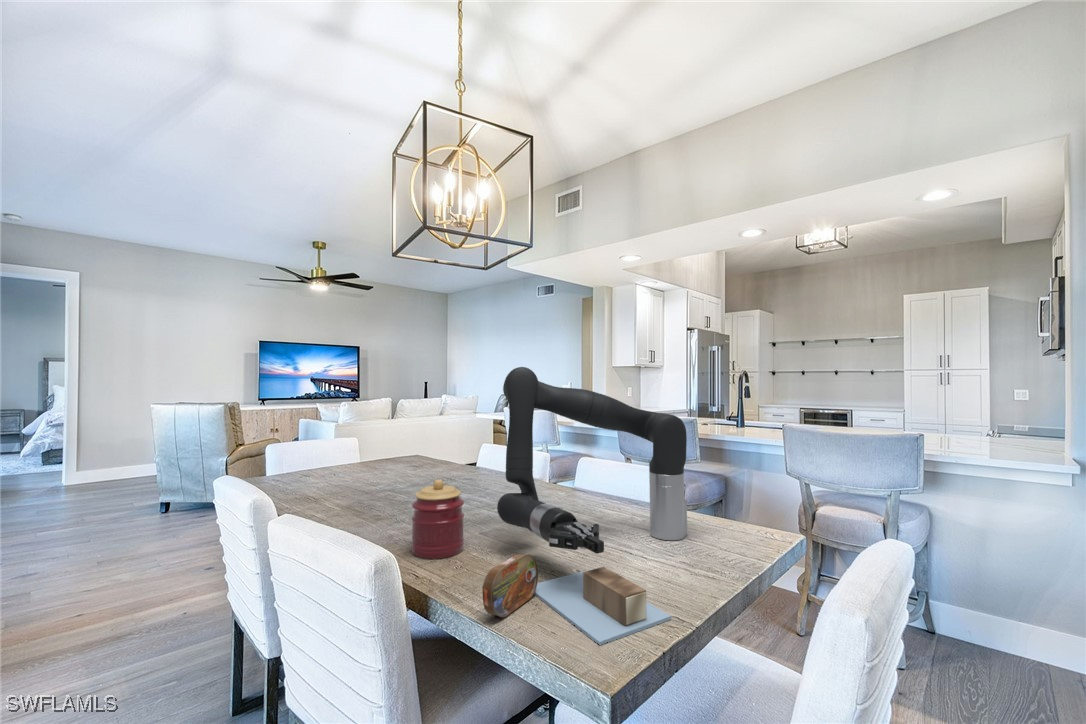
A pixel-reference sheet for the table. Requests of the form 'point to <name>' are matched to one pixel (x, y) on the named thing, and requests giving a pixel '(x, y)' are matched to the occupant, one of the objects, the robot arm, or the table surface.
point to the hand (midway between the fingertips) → (601, 547)
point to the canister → (437, 522)
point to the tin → (510, 585)
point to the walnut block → (615, 595)
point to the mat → (590, 610)
